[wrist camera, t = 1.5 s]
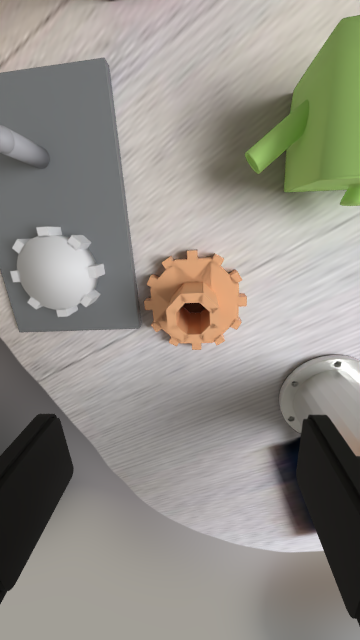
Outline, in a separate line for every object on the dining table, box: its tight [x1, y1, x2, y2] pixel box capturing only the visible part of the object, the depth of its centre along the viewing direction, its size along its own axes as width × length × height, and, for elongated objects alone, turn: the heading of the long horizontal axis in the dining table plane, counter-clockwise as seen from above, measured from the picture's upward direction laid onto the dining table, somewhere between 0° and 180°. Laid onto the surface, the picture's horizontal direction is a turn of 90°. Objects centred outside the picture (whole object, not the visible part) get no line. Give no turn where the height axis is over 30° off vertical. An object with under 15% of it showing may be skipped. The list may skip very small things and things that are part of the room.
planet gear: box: [144, 250, 247, 350], centre depth 27 cm, size 12×12×7 cm
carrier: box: [0, 58, 141, 332], centre depth 25 cm, size 26×16×7 cm, turn 4°
